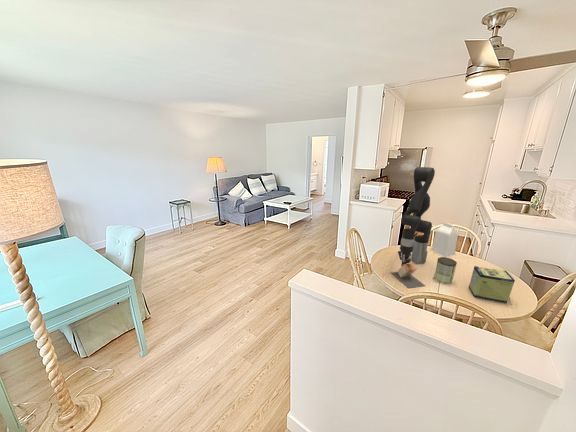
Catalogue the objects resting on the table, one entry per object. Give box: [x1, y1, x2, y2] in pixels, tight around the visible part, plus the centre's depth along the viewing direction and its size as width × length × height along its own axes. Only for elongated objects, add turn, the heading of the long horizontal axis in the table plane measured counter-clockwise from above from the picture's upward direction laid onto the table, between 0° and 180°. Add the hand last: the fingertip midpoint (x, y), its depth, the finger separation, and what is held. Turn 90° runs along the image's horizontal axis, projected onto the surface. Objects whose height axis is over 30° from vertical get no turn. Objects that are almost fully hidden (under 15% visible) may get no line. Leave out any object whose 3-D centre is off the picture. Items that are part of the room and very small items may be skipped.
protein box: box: [468, 265, 516, 304], centre depth 130 cm, size 10×16×16 cm
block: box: [396, 262, 417, 277], centre depth 149 cm, size 7×4×10 cm
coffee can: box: [433, 256, 458, 285], centre depth 146 cm, size 10×10×14 cm
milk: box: [430, 222, 459, 258], centre depth 180 cm, size 12×12×26 cm
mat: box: [391, 271, 426, 289], centre depth 149 cm, size 12×18×1 cm, turn 10°
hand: (403, 267), depth 152 cm, fingers closed
